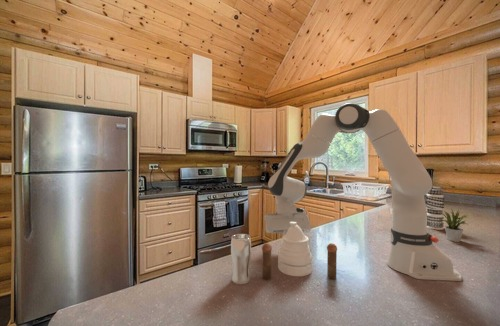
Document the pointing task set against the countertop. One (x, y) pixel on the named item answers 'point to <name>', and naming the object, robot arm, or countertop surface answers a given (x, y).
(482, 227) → the countertop surface
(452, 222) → the house plant
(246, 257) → the beer glass
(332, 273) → the post
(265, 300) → the countertop surface
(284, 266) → the honey pot
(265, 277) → the post
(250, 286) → the countertop surface
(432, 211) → the decorative candle
